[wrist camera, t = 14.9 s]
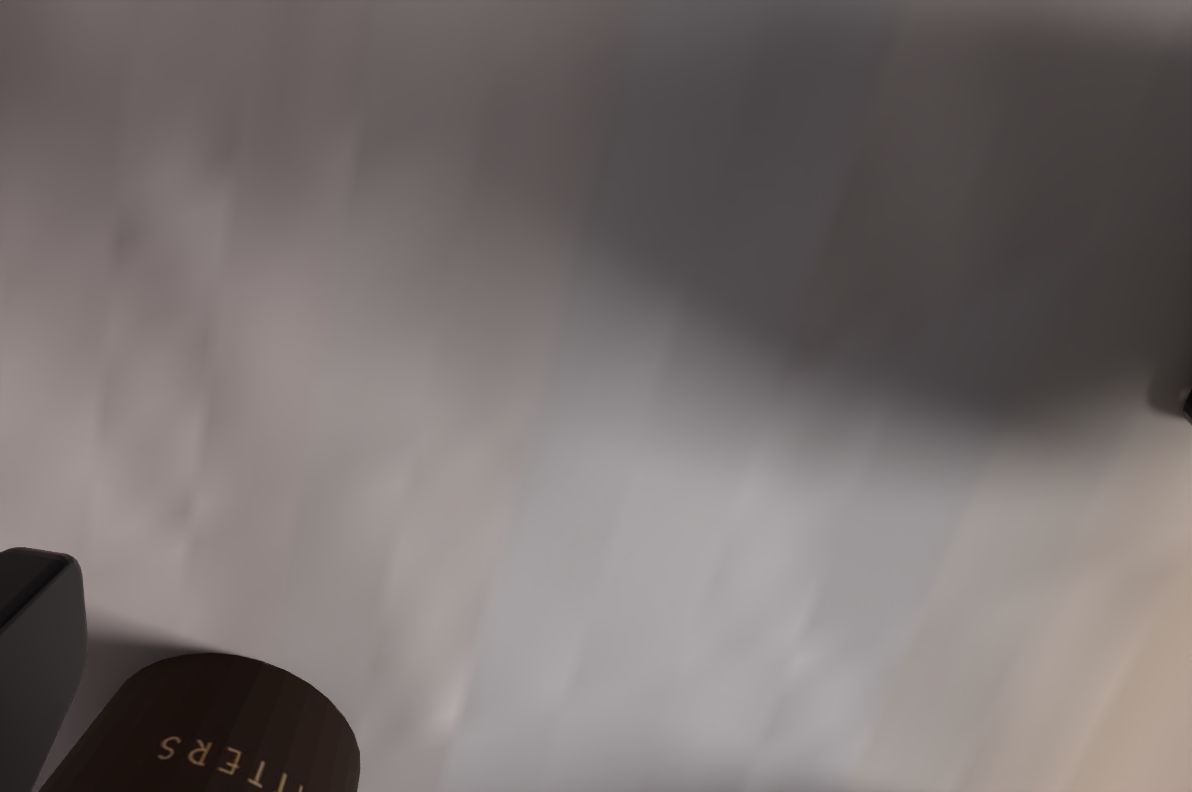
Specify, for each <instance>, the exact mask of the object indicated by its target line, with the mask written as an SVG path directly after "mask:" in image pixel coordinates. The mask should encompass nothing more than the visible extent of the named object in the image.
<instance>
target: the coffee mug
mask: <svg viewBox="0 0 1192 792" xmlns="http://www.w3.org/2000/svg"><path fill="white" fill-rule="evenodd" d="M359 775H360V751H359V748H358V744H357V741H356V738H355V735H354V733H353V731H352V729H351V727H350V726H349V724H348V722H347V721H346V719H345V717H344V716H343V715H342V714H341V712H340V711H339V710H338V709H337V708H336V707H335V706H334V705H333V703H332V702H331V701H330V700H329V699H328V698H326V697H325V696H324V695H323V694H321V693H320V692H319V691H318V690H316V689H315V688H314V687H313V686H311V685H310V684H308V683H307V682H305V681H303V680H301V679H300V678H298V677H296V676H294V675H292V674H291V673H289V672H287V671H284V670H282V669H279V668H277V667H274V666H272V665H269V664H267V663H264V662H260V661H256V660H252V659H248V658H244V657H239V656H233V655H222V654H211V653H210V654H192V655H183V656H178V657H174V658H169V659H165V660H161V661H159V662H157V663H154V664H152V665H150V666H148V667H145V668H143V669H141V670H140V671H139V672H137V673H136V674H135V675H133V676H132V677H131V678H129V679H128V680H126V682H125V683H124V684H123V685H122V687H121V688H120V689H119V690H118V692H117V693H116V694H115V695H114V697H113V698H112V699H111V700H110V702H109V703H108V704H107V705H106V707H105V708H104V709H103V710H102V712H101V713H100V714H99V715H98V717H97V718H96V719H95V721H94V722H93V723H92V724H91V726H90V727H89V728H88V729H87V731H86V732H85V733H84V734H83V736H82V737H81V738H80V740H79V741H78V742H77V743H76V745H75V746H74V747H73V748H72V750H71V751H70V752H69V753H68V755H67V756H66V757H65V758H64V760H63V761H62V762H61V764H60V765H59V766H58V767H57V769H56V770H55V771H54V772H53V774H52V775H51V776H50V777H49V779H48V780H47V781H46V783H45V784H44V785H43V786H42V788H41V789H40V790H39V791H38V792H357V788H358V782H359Z"/></svg>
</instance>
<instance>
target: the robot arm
mask: <svg viewBox="0 0 1192 792" xmlns="http://www.w3.org/2000/svg"><path fill="white" fill-rule="evenodd" d="M1183 410H1184V415H1185V418H1186V419H1187V420H1188V421H1189V423H1190V424H1191V425H1192V390H1191V392H1190V394H1189V396H1188V398H1187V400H1186V402H1185V406H1184V409H1183ZM87 655H88V635H87V624H86V612H85V601H84V589H83V578H82V572H81V568H80V565H79V563H78V561H77V560H76V559H75V558H74V557H72V556H70V555H68V554H64V553H58V552H51V551H45V550H38V549H32V548H26V547H15V548H10V549H8V550H5V551H3V552H0V792H31V791H32V789H33V787H34V784H35V782H36V780H37V778H38V775H39V773H40V771H41V769H42V766H43V764H44V762H45V760H46V757H47V755H48V753H49V751H50V748H51V746H52V744H53V742H54V739H55V737H56V735H57V733H58V730H59V728H60V726H61V724H62V721H63V719H64V717H65V715H66V712H67V710H68V708H69V706H70V703H71V701H72V699H73V697H74V694H75V692H76V690H77V688H78V685H79V683H80V681H81V678H82V676H83V672H84V669H85V665H86V661H87Z"/></svg>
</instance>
